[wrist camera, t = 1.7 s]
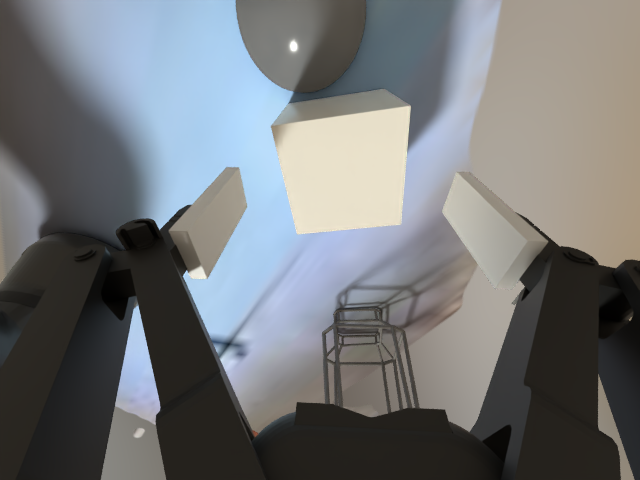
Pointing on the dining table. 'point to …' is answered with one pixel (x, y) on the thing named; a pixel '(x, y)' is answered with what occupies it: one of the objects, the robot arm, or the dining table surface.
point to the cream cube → (344, 160)
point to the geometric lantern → (397, 355)
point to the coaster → (302, 39)
